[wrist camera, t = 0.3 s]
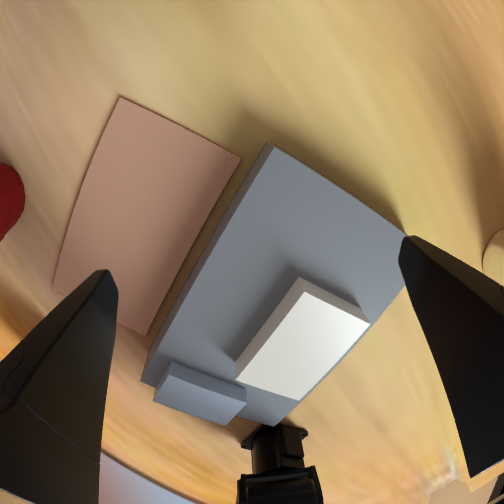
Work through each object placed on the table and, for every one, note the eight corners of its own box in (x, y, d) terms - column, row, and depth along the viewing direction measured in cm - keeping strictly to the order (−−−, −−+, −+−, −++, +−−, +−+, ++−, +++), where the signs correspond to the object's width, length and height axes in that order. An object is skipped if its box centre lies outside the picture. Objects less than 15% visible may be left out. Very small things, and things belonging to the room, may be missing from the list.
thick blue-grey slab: (225, 412, 28) (225, 425, 26) (155, 387, 26) (152, 400, 25) (246, 389, 26) (247, 403, 25) (171, 361, 25) (168, 374, 23)
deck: (270, 398, 33) (274, 426, 29) (148, 352, 29) (140, 381, 26) (405, 233, 26) (428, 252, 22) (267, 141, 22) (274, 147, 18)
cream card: (295, 383, 27) (299, 400, 25) (234, 362, 25) (235, 379, 23) (361, 308, 24) (370, 324, 22) (298, 276, 22) (304, 291, 20)
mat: (145, 334, 28) (144, 336, 28) (53, 286, 26) (52, 288, 26) (241, 158, 22) (241, 158, 22) (121, 97, 20) (120, 97, 20)
